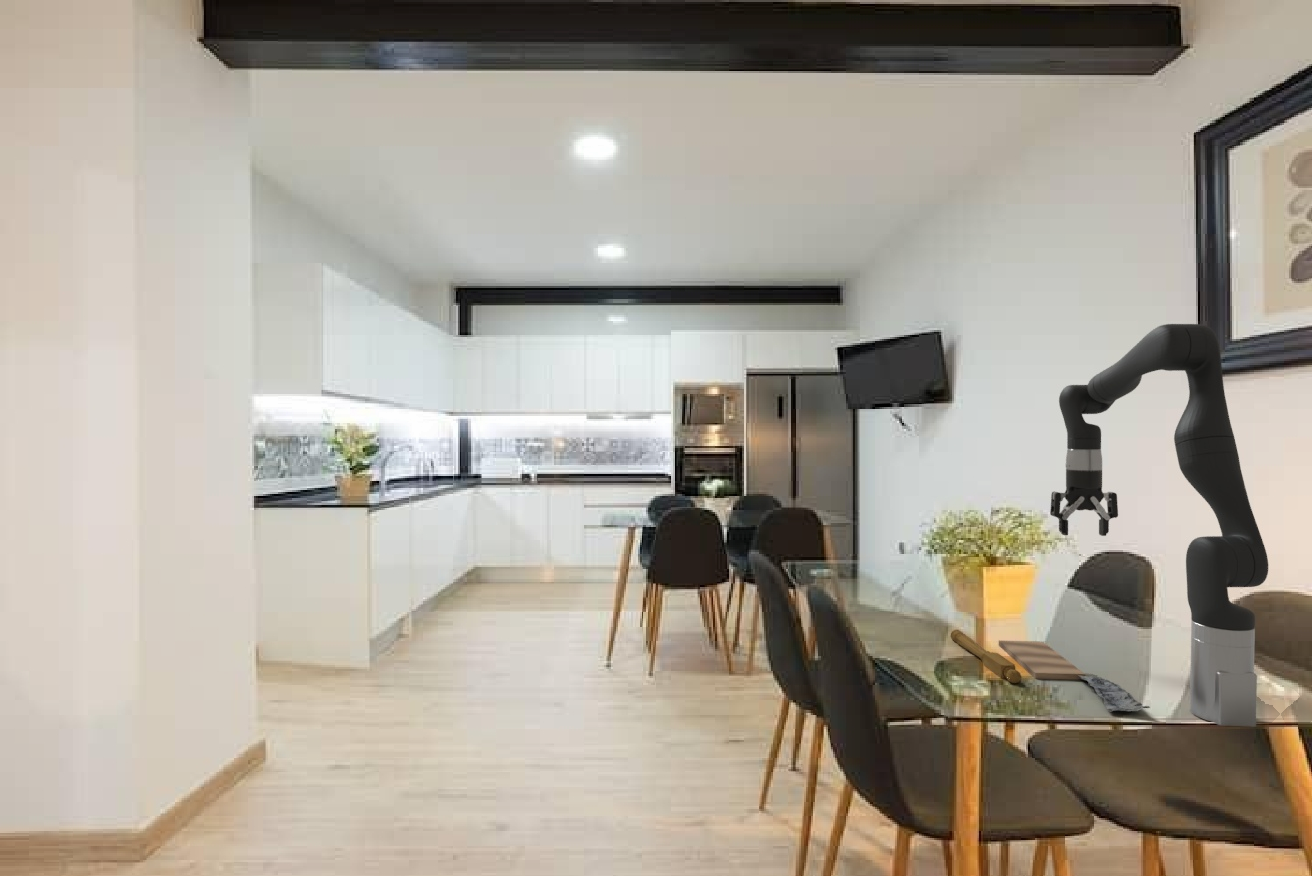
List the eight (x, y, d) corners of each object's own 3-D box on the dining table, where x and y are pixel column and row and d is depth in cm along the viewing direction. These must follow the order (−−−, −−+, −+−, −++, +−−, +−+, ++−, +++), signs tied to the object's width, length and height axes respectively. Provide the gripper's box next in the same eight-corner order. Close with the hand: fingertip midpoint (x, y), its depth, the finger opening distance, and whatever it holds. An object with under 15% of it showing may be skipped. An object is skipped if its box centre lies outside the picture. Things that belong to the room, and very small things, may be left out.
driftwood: (1072, 677, 155) (1072, 667, 155) (1108, 678, 154) (1107, 668, 154) (1109, 713, 135) (1109, 702, 135) (1150, 715, 134) (1150, 703, 134)
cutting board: (1085, 679, 153) (1085, 674, 153) (1035, 678, 154) (1035, 672, 154) (1042, 646, 175) (1042, 641, 175) (998, 645, 176) (998, 640, 176)
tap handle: (961, 628, 181) (1024, 671, 151) (961, 640, 181) (1024, 685, 151) (949, 628, 181) (1009, 671, 151) (949, 641, 181) (1009, 685, 151)
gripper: (1058, 469, 172) (1058, 537, 173) (1123, 469, 170) (1123, 538, 171) (1046, 466, 180) (1046, 532, 180) (1108, 466, 178) (1108, 533, 178)
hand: (1083, 535), depth 175 cm, fingers open, 8 cm apart
